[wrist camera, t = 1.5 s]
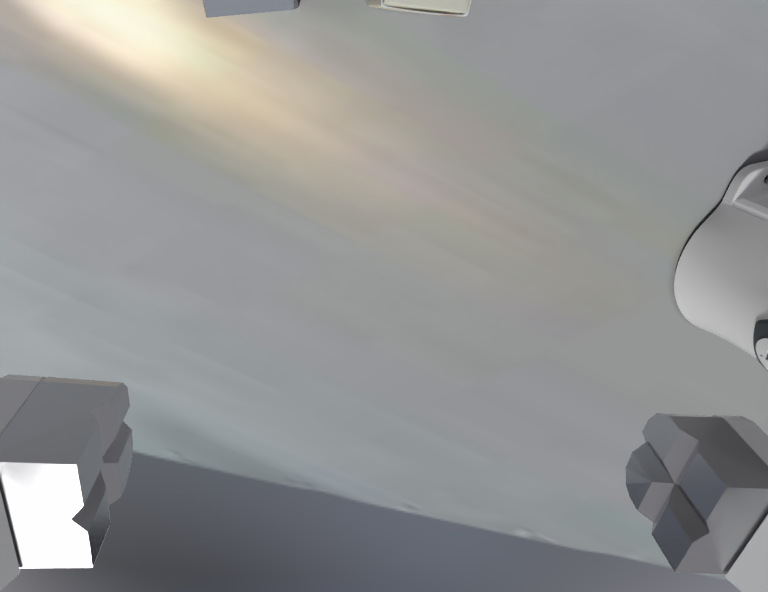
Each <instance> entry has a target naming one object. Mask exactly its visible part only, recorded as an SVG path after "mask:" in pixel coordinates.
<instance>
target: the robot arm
mask: <svg viewBox="0 0 768 592" xmlns="http://www.w3.org/2000/svg"><path fill="white" fill-rule="evenodd" d="M767 175H768V161H764V162H759V163H754V164H750V165H748V166H746V167H744V168H742V169H741V170H740V171H739V172H738V173H737V175H736V176H735V177H734V179H733V181H732V182H731V184H730V186H729V188H728V190H727V192H726V194H725V196H724V198H723V200H722V202H721V204H720V205H719V206H718V208H717V209H716V210H715V211H714V212H713V213H712V214H711V215H710V216H709V217H708V218H707V219H706V220H705V221H704V223H703V224H702V225H701V226H700V227H699V228H698V229H697V231H696V232H695V233H694V234H693V236H692V237H691V239H690V240H689V242H688V244H687V245H686V247H685V249H684V251H683V253H682V255H681V257H680V260H679V262H678V266H677V269H676V274H675V280H674V291H675V298H676V301H677V304H678V307H679V309H680V311H681V312H682V314H683V315H684V316H685V318H686V319H687V320H688V321H690V322H691V323H692V324H693V325H695V326H697V327H699V328H701V329H703V330H706V331H708V332H711V333H713V334H715V335H718V336H720V337H722V338H724V339H725V340H727V341H729V342H731V343H733V344H734V345H736V346H738V347H739V348H741V349H743V350H744V351H746V352H747V353H749V354H750V355H752V356H753V357H755V358H756V359H757V360H758V361H759V362H760V364H761V365H762V366H763V367H764V368H765V369H766V370H767V371H768V178H767V179H766V180H765V181H764V179H765V177H766V176H767ZM129 406H130V404H129V396H128V388H127V386H126V385H125V384H124V383H120V382H107V381H94V380H81V379H69V378H56V377H48V378H45V377H37V376H23V375H7V376H4V377H2V378H0V590H2V589H3V588H4V587H5V586H6V585H7V584H8V583H9V582H11V581H12V580H13V579H14V578H15V577H16V576H17V575H18V574H19V573H20V569H26V568H76V567H93V565H94V563H95V560H96V558H97V555H98V553H99V550H100V548H101V545H102V542H103V540H104V538H105V535H106V533H107V530H108V528H109V525H110V516H109V507H108V506H109V505H110V504H112V503H113V502H114V501H116V500H117V499H118V498H120V497H121V495H122V493H123V490H124V487H125V485H126V482H127V479H128V475H129V470H130V465H131V461H132V449H133V439H132V430H131V429H130V428H129V427H128V426H127V425H126V424H125V422H124V421H123V420H124V418H125V415H126V413H127V411H128V409H129ZM643 435H644V438H645V441H646V443H644V444H643V445H642V446H640V447H639V448H638V449H636V450H635V451H633V452H632V454H631V457H630V459H629V462H628V464H627V466H626V486H627V489H628V493H629V496H630V498H631V500H632V502H633V504H634V505H635V507H636V509H637V510H638V511H639V512H640V513H642V514H643V515H644V516H645V517H647V518H648V519H649V520H651V521H652V522H653V528H652V536H653V537H654V539H655V541H656V542H657V544H658V546H659V547H660V549H661V550H662V552H663V554H664V555H665V557H666V559H667V560H668V562H669V564H670V565H671V567H672V569H673V570H674V572H683V573H709V574H726V576H725V577H726V578H727V579H728V580H729V581H730V582H731V583H733V585H735V586H736V587H737V588H738V589H739V590H740V591H741V592H768V436H767V435H766V434H765V433H764V432H763V431H762V430H761V429H760V428H759V427H758V426H757V425H756V424H755V423H754V422H753V421H751V420H749V419H747V418H745V417H743V416H716V415H714V416H699V415H679V414H659V413H656V414H655V415H654V416H653V417H651V418H650V419H649V420H648V422H647V424H646V426H645V428H644V430H643Z"/></svg>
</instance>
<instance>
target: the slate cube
mask: <svg viewBox="0 0 768 592" xmlns="http://www.w3.org/2000/svg"><path fill="white" fill-rule="evenodd" d="M203 4H204V8H205V13H206V18H207V17H218V16H229V15H240V14H251V13H262V12H273V11H283V10H294V9H296V8H298V7H299V4H298V0H203Z"/></svg>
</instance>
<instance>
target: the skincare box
mask: <svg viewBox="0 0 768 592" xmlns="http://www.w3.org/2000/svg"><path fill="white" fill-rule="evenodd" d="M471 2H472V0H367V5H368V6H371V7H377V8H383V9H389V10H396V11H403V12H412V13H422V14H431V15H445V16H459V17H465V16H467V15H468V14H469V11H470V6H471Z"/></svg>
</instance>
